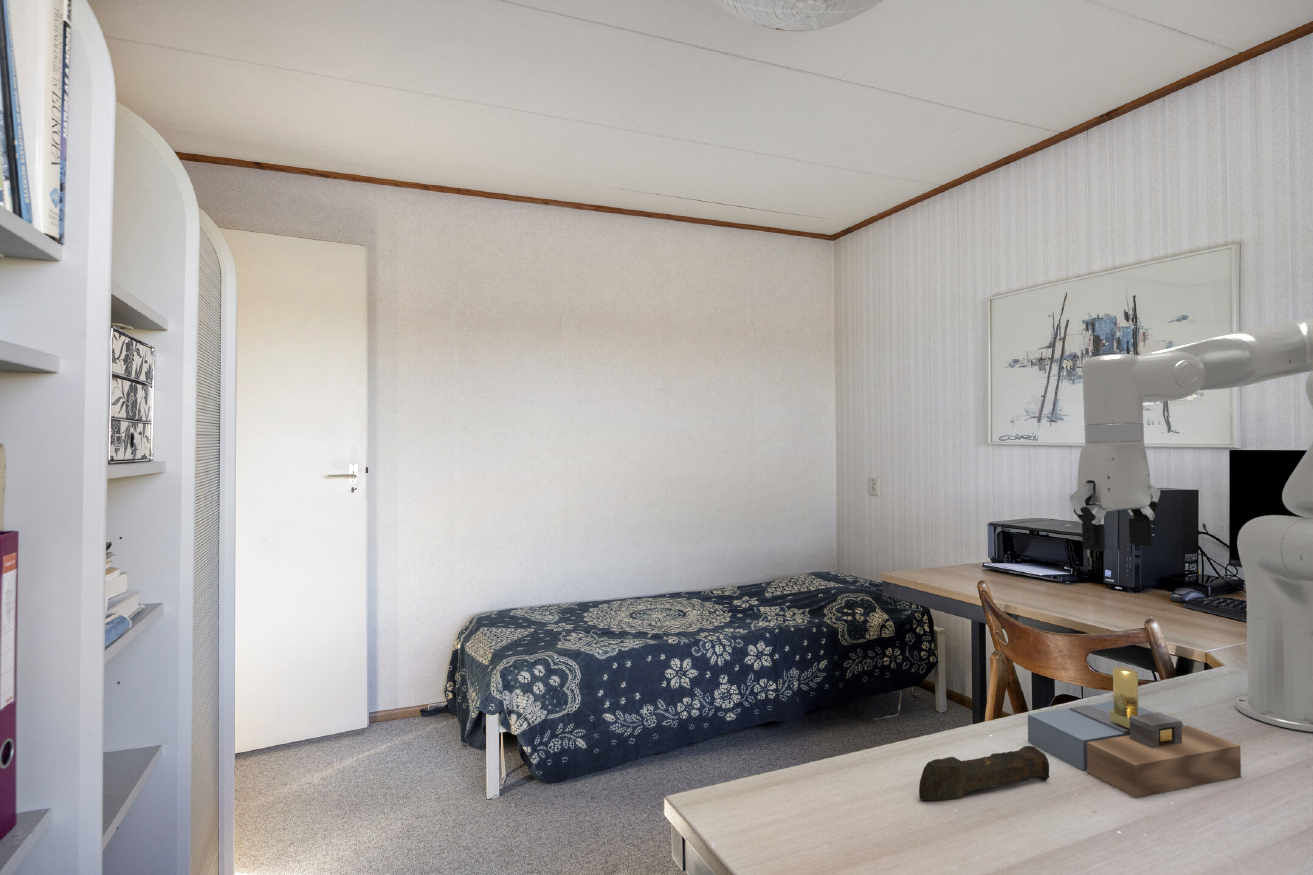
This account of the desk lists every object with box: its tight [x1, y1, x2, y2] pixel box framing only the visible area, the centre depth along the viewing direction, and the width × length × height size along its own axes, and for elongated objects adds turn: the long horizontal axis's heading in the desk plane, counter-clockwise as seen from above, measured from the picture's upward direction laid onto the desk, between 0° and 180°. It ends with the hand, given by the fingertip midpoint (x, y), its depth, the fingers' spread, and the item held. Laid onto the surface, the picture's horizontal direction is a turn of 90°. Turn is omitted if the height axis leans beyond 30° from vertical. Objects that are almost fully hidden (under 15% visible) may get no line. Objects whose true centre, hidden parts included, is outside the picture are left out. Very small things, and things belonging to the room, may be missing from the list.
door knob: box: [1110, 666, 1172, 742], centre depth 91 cm, size 3×7×7 cm, turn 16°
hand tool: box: [918, 745, 1050, 802], centre depth 85 cm, size 19×4×5 cm, turn 107°
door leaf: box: [1027, 701, 1184, 771], centre depth 96 cm, size 18×9×4 cm, turn 106°
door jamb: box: [1086, 711, 1242, 799], centre depth 88 cm, size 18×7×7 cm, turn 106°
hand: (1117, 547), depth 103 cm, fingers open, 9 cm apart
